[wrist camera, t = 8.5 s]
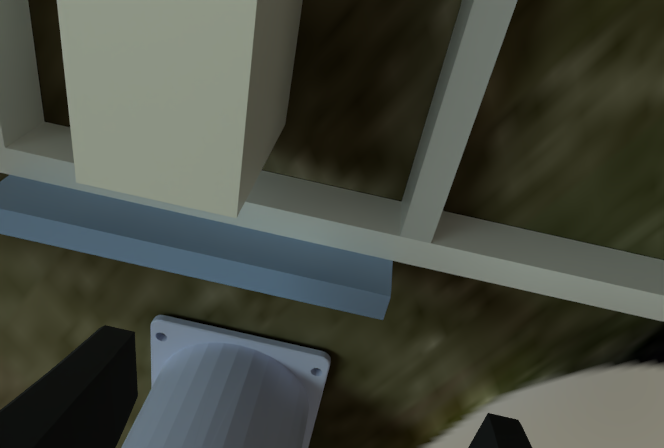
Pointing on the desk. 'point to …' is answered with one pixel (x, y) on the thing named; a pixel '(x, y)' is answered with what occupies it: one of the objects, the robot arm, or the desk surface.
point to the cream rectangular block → (177, 94)
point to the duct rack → (308, 206)
